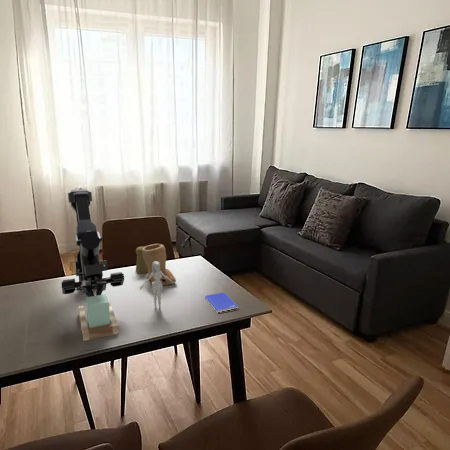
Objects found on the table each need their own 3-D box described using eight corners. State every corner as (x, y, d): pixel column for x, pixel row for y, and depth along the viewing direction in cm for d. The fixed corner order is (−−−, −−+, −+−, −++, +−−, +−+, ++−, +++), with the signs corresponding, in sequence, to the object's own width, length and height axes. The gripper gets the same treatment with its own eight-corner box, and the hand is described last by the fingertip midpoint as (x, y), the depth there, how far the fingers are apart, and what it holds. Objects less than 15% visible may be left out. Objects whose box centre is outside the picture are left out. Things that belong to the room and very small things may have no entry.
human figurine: (142, 316, 124) (140, 267, 119) (139, 312, 127) (137, 263, 122) (175, 308, 130) (174, 260, 125) (171, 304, 133) (170, 257, 128)
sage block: (88, 326, 115) (85, 297, 112) (108, 322, 117) (106, 294, 115) (90, 336, 109) (87, 305, 107) (110, 332, 112) (108, 302, 109)
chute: (79, 317, 122) (78, 306, 121) (110, 311, 127) (109, 301, 126) (83, 344, 108) (82, 332, 107) (118, 336, 112) (118, 325, 111)
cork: (152, 269, 165) (151, 246, 162) (145, 274, 159) (144, 250, 156) (140, 267, 167) (139, 244, 164) (132, 272, 161) (131, 248, 158)
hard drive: (238, 306, 130) (224, 292, 141) (217, 310, 127) (204, 295, 138) (238, 310, 131) (224, 296, 142) (217, 314, 128) (204, 299, 138)
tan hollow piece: (141, 275, 158) (140, 241, 155) (168, 271, 163) (167, 239, 159) (147, 289, 145) (145, 253, 141) (176, 285, 149) (176, 250, 145)
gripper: (58, 256, 111) (63, 305, 104) (121, 248, 119) (129, 294, 112) (60, 270, 120) (64, 317, 113) (118, 263, 128) (126, 306, 121)
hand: (96, 308), depth 115 cm, fingers closed, pressing on sage block
